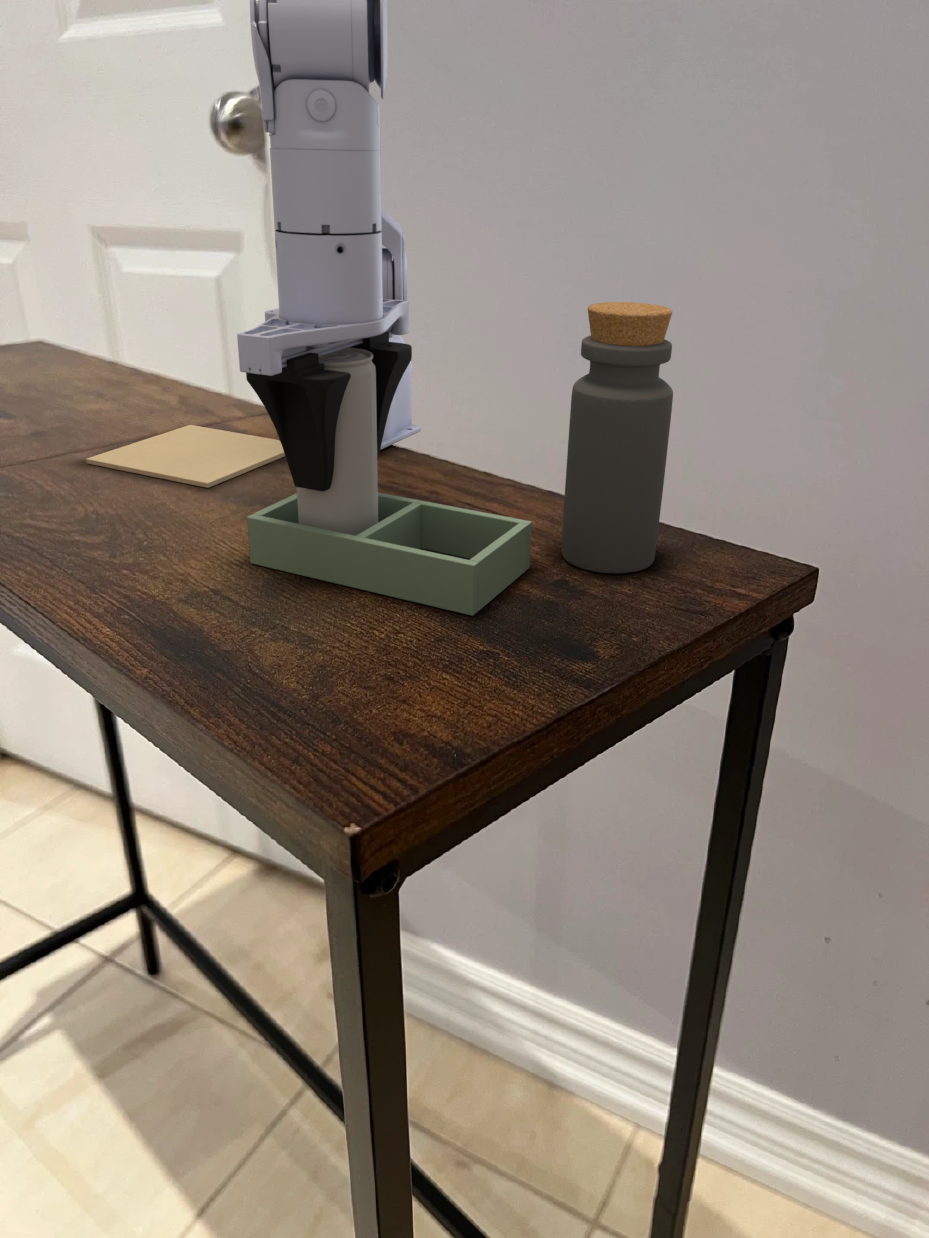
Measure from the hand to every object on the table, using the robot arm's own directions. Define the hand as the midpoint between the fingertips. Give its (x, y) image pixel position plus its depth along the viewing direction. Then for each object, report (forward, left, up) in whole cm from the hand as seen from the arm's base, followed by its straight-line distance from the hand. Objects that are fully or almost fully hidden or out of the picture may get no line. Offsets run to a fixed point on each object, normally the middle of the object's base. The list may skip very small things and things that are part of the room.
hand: (337, 475), depth 59 cm
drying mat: (-12, -21, -5) cm, 25 cm away
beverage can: (0, 0, -5) cm, 5 cm away
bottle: (-8, +15, -5) cm, 17 cm away
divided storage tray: (0, +4, -5) cm, 6 cm away
